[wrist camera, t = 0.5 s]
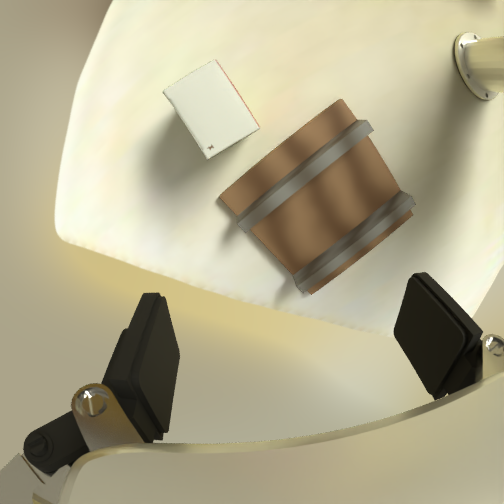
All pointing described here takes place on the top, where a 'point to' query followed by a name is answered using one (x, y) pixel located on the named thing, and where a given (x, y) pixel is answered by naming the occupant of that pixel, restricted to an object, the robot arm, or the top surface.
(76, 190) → the top surface
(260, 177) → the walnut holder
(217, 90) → the small box
